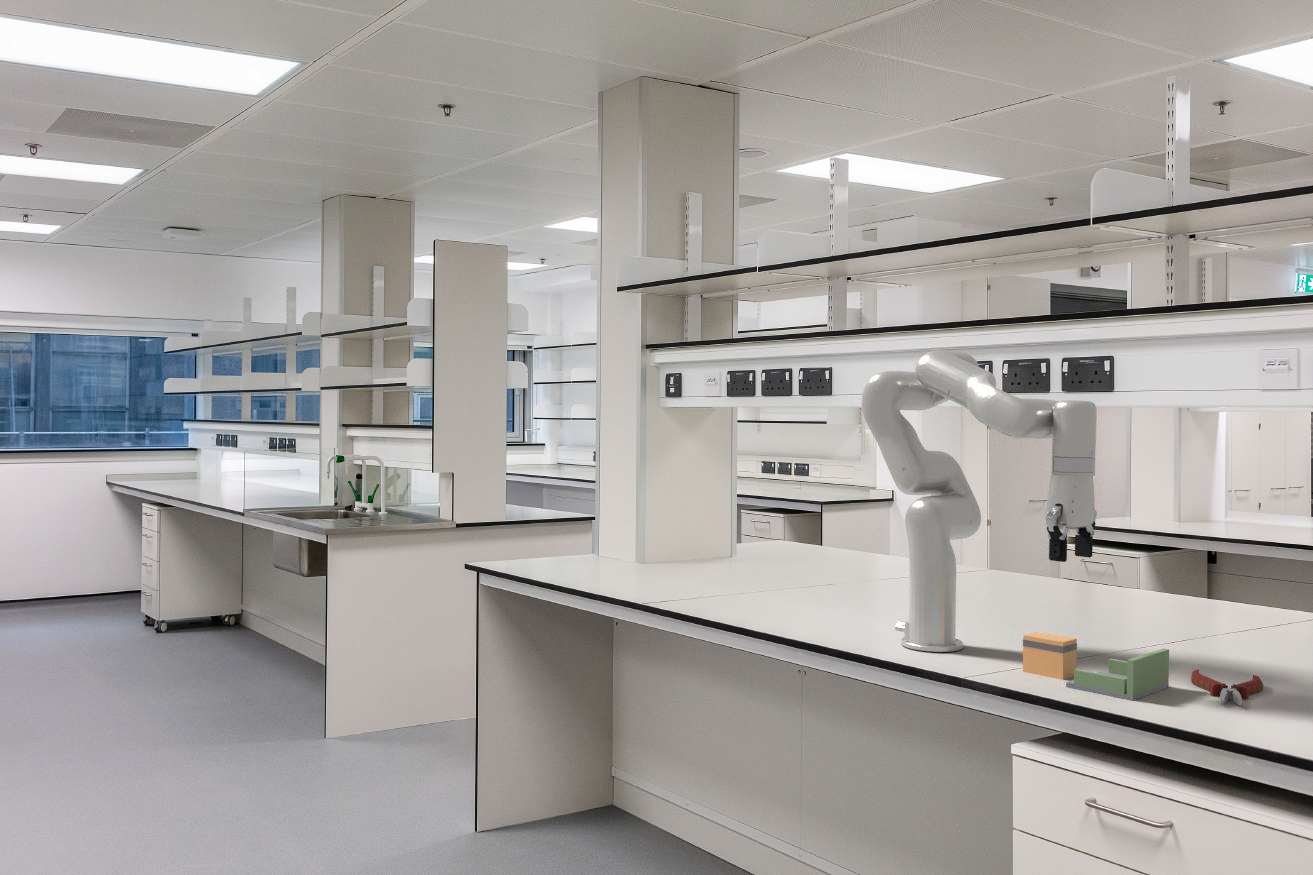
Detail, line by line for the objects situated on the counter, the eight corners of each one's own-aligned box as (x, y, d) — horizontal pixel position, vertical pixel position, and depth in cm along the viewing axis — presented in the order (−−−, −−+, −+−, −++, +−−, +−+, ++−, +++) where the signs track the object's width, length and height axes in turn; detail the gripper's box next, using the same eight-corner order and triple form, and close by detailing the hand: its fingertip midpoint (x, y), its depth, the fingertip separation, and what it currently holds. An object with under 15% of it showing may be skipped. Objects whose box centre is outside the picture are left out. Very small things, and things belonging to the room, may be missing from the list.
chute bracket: (1066, 686, 189) (1066, 648, 189) (1103, 674, 198) (1103, 638, 198) (1132, 700, 180) (1133, 660, 180) (1168, 687, 189) (1169, 649, 189)
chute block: (1022, 671, 200) (1022, 635, 200) (1036, 667, 204) (1036, 631, 203) (1062, 680, 194) (1063, 642, 194) (1076, 675, 197) (1077, 638, 197)
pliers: (1193, 706, 178) (1193, 691, 178) (1190, 680, 196) (1190, 666, 196) (1271, 715, 173) (1272, 699, 173) (1261, 688, 191) (1261, 673, 191)
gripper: (1076, 464, 204) (1074, 552, 205) (1030, 467, 193) (1028, 560, 193) (1114, 466, 199) (1112, 557, 199) (1069, 469, 187) (1067, 565, 188)
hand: (1070, 558), depth 196 cm, fingers open, 9 cm apart
